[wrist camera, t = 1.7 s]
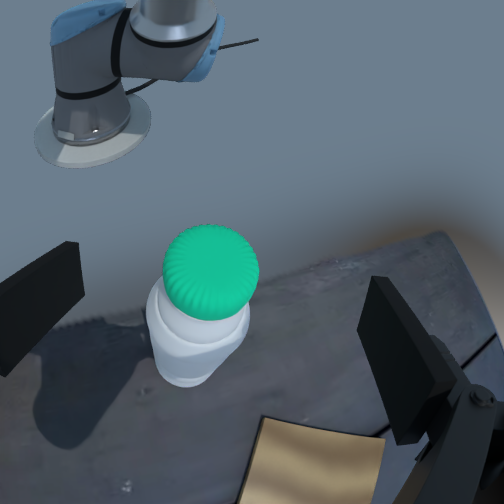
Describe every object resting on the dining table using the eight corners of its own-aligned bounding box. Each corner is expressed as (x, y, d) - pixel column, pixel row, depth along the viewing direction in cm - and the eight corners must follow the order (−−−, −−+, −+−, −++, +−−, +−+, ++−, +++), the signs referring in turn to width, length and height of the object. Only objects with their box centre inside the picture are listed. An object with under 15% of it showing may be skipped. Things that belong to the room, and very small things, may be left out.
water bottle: (157, 327, 36) (152, 190, 16) (214, 334, 38) (283, 210, 17) (152, 384, 33) (125, 323, 12) (213, 390, 34) (290, 339, 13)
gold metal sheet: (262, 417, 34) (264, 417, 33) (381, 439, 35) (385, 438, 34) (223, 543, 24) (224, 546, 23) (351, 549, 25) (354, 551, 25)
